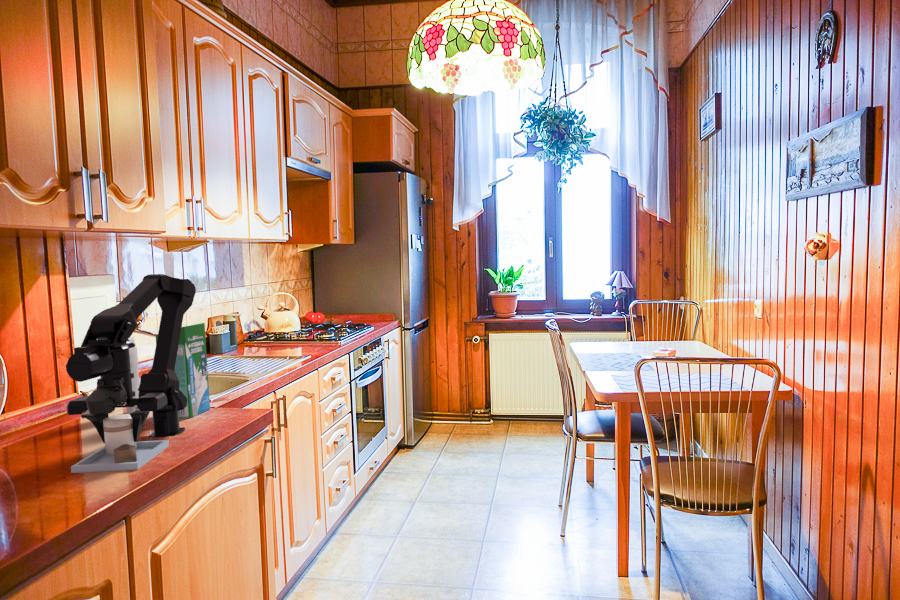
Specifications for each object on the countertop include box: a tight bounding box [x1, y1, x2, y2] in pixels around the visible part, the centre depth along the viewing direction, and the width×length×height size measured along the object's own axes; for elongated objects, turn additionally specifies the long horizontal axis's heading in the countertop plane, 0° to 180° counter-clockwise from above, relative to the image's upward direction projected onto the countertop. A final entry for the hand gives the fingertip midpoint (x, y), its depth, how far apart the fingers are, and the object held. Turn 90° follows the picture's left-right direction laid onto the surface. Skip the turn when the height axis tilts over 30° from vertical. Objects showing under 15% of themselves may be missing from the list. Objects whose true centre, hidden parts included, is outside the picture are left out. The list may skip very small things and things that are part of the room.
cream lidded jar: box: [103, 413, 138, 454], centre depth 127 cm, size 6×6×7 cm
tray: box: [70, 439, 170, 474], centre depth 125 cm, size 15×13×2 cm
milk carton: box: [155, 322, 211, 419], centre depth 162 cm, size 9×9×25 cm
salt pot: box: [114, 444, 137, 463], centre depth 121 cm, size 4×4×4 cm
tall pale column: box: [125, 336, 140, 414], centre depth 163 cm, size 11×4×22 cm, turn 16°
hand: (121, 442), depth 127 cm, fingers closed on cream lidded jar, 6 cm apart
